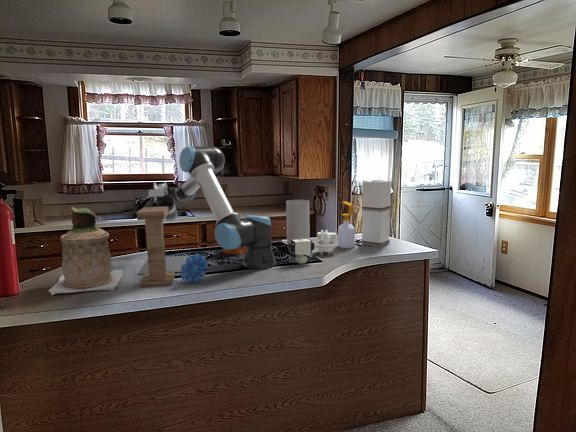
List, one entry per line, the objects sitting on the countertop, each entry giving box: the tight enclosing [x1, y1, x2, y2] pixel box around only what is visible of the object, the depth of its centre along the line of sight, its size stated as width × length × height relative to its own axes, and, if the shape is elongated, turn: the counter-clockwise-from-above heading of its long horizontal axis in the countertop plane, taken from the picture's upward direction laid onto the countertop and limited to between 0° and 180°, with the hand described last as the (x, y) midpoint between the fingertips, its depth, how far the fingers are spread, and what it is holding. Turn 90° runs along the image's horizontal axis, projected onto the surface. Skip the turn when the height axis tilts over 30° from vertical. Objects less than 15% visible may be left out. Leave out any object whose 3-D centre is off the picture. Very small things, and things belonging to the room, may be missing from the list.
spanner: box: [148, 186, 166, 198], centre depth 189 cm, size 22×6×2 cm, turn 9°
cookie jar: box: [48, 207, 123, 296], centre depth 170 cm, size 25×25×32 cm
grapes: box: [180, 253, 209, 284], centre depth 171 cm, size 12×7×12 cm, turn 124°
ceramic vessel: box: [222, 246, 246, 256], centre depth 223 cm, size 14×26×15 cm, turn 153°
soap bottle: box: [337, 200, 356, 249], centre depth 227 cm, size 9×9×25 cm
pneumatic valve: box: [287, 238, 316, 265], centre depth 197 cm, size 6×12×12 cm, turn 109°
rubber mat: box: [137, 255, 191, 276], centre depth 198 cm, size 28×20×1 cm
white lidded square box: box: [361, 179, 392, 248], centre depth 232 cm, size 11×11×35 cm
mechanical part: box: [314, 229, 338, 256], centre depth 214 cm, size 11×12×12 cm
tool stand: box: [136, 205, 176, 288], centre depth 172 cm, size 16×12×30 cm
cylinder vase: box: [285, 199, 311, 247], centre depth 230 cm, size 12×12×25 cm
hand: (159, 184), depth 191 cm, fingers closed on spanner, 4 cm apart
